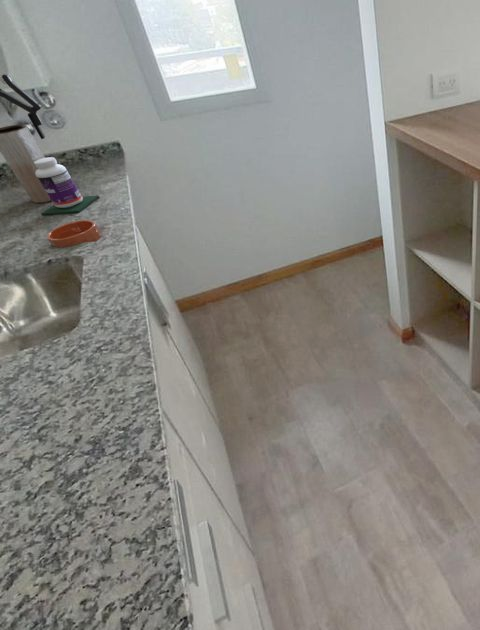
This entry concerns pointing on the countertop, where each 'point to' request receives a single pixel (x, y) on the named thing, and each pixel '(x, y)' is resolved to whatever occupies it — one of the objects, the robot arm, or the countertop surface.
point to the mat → (74, 209)
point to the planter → (23, 159)
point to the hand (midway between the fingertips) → (15, 143)
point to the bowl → (74, 233)
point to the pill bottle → (57, 183)
